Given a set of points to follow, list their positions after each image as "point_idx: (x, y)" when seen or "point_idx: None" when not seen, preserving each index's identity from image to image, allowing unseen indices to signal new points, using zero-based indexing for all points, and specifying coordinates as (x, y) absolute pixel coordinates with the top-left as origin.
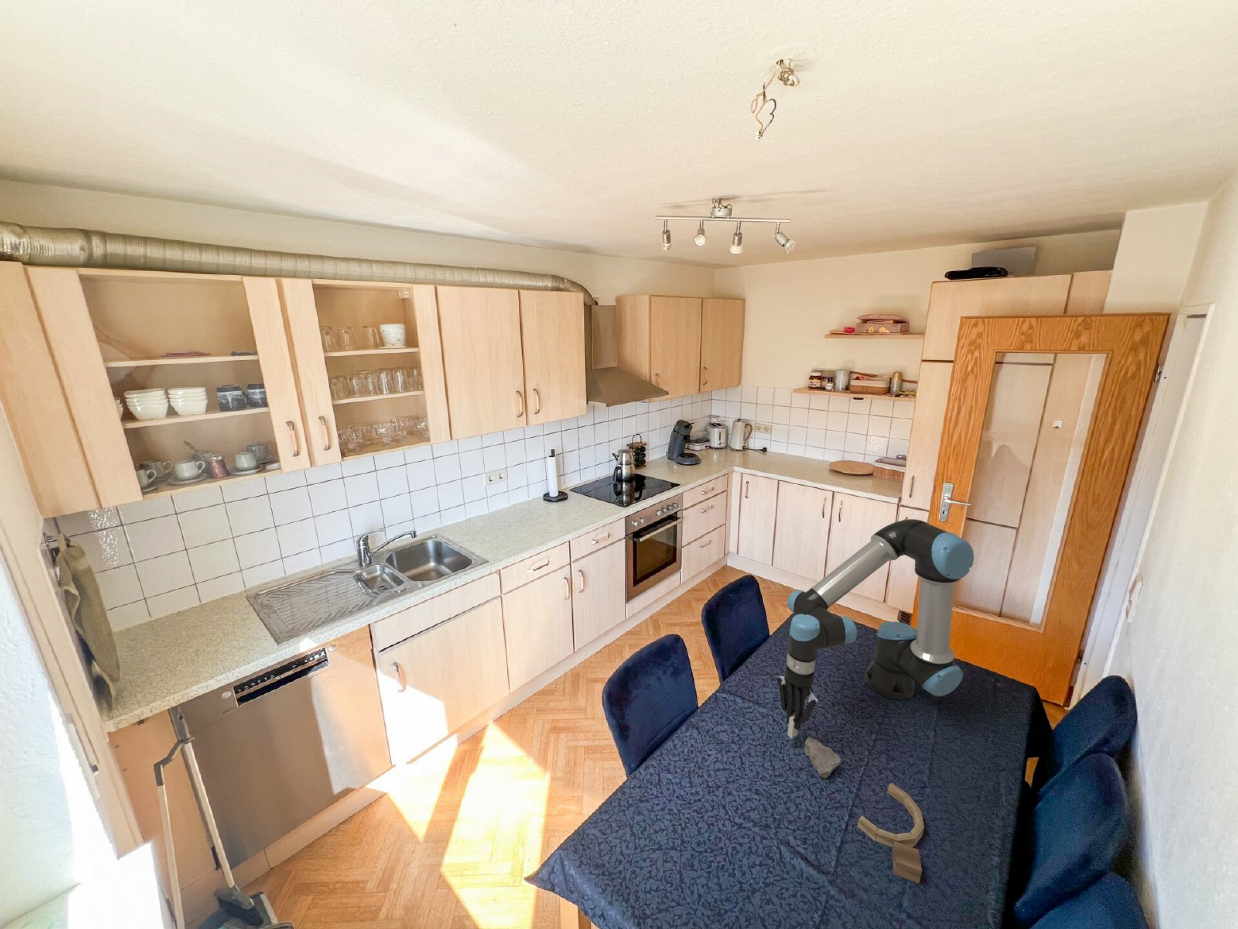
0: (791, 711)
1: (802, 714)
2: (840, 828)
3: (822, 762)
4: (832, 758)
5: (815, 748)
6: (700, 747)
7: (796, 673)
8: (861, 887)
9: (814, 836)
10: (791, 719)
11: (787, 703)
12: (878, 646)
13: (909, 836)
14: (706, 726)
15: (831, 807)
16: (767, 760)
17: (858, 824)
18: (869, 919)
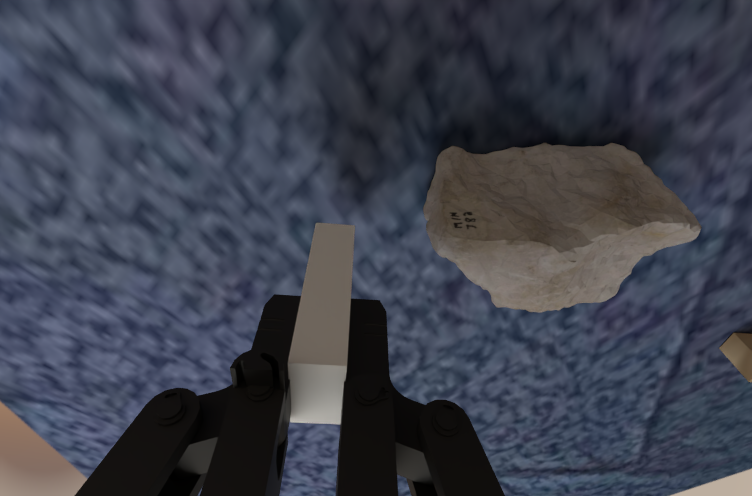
0: (279, 479)
1: (393, 449)
2: (654, 380)
3: (574, 296)
4: (635, 244)
5: (524, 289)
6: None
7: None
8: (712, 450)
9: (576, 432)
10: (314, 415)
11: (158, 461)
12: None
13: None
14: (25, 373)
15: (616, 345)
16: None
17: (732, 360)
18: (724, 477)
